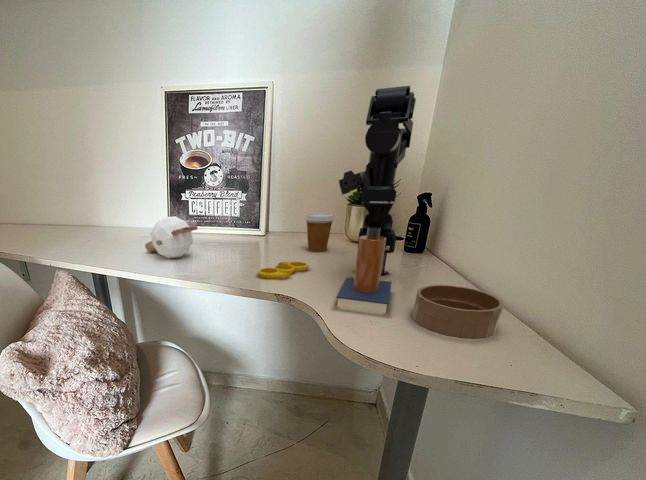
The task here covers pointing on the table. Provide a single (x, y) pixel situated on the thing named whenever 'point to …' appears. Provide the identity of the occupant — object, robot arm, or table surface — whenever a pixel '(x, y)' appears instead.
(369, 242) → the amber bottle
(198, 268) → the table surface
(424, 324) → the wooden bowl
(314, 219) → the disposable coffee cup
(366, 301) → the book
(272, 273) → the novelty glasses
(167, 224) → the stuffed white mouse
